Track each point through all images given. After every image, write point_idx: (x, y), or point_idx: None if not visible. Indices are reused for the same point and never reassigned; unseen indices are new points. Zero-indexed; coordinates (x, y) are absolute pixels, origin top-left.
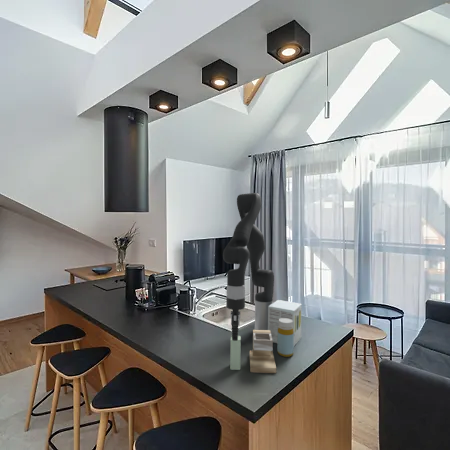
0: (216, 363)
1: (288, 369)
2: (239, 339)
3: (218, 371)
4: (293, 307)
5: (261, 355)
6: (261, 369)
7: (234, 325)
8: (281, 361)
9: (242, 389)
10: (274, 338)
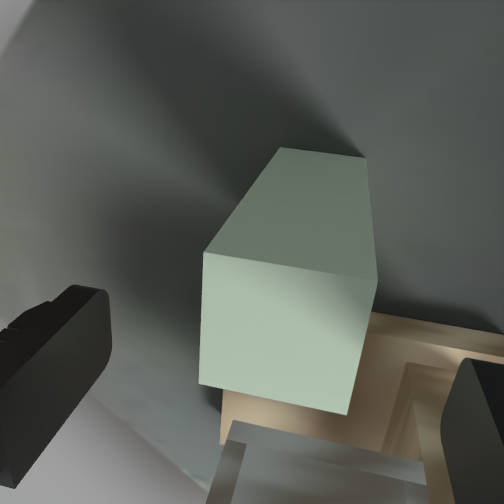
0: (401, 12)
1: None
2: (218, 375)
3: (251, 36)
4: None
5: (391, 419)
6: None
7: (494, 485)
8: None
9: (45, 204)
10: None
